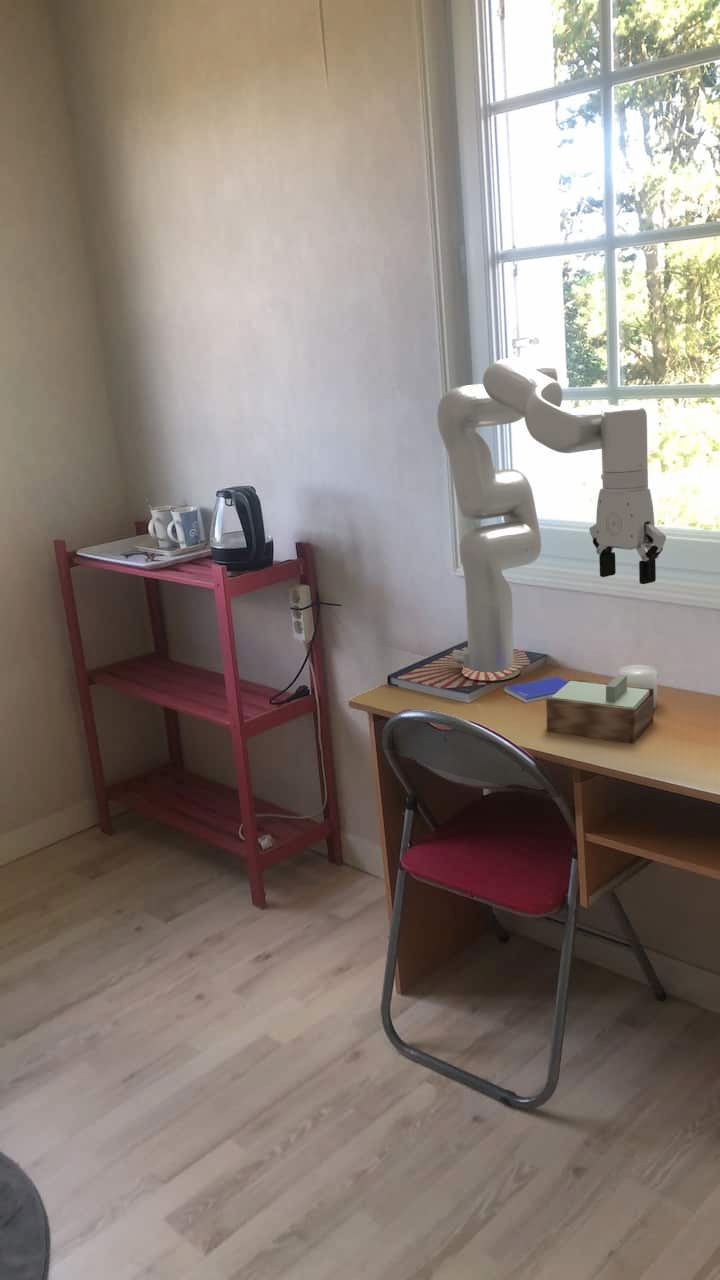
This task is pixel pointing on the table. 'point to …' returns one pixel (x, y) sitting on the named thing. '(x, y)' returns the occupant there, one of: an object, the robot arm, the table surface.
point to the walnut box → (600, 718)
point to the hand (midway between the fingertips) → (627, 579)
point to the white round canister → (641, 677)
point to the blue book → (536, 689)
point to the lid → (604, 693)
